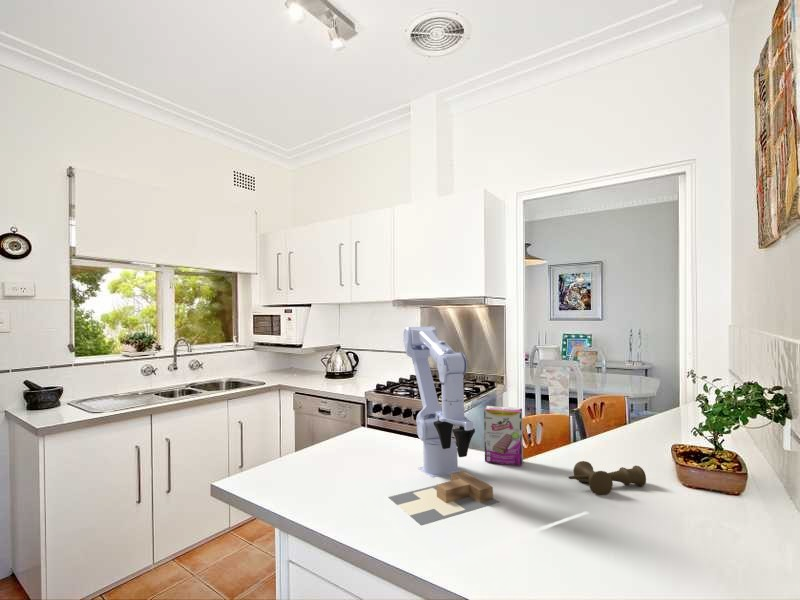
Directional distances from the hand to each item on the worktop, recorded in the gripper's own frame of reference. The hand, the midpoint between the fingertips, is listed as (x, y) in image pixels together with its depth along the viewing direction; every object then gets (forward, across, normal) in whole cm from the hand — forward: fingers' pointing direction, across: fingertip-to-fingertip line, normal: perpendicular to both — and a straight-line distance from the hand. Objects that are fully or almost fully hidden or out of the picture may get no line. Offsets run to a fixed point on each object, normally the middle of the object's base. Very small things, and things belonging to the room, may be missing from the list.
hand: (454, 452), depth 109 cm
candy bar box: (+10, -10, +24) cm, 28 cm away
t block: (+9, +4, -1) cm, 10 cm away
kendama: (+10, +17, +35) cm, 40 cm away
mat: (+10, +4, -6) cm, 12 cm away
